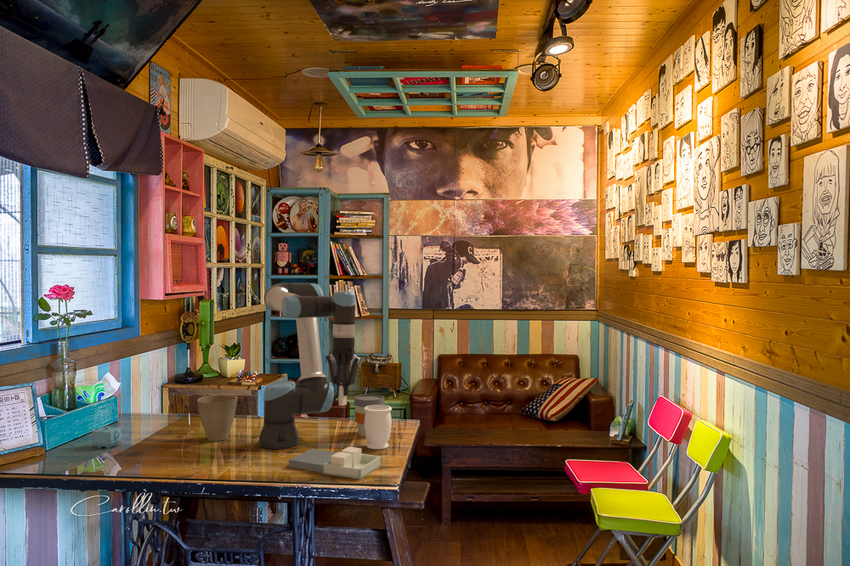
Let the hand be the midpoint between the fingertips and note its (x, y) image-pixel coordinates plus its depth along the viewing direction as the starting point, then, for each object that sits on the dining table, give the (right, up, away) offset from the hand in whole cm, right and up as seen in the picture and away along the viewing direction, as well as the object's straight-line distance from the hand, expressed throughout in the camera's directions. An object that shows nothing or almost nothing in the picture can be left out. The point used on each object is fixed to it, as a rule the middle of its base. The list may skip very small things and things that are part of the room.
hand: (342, 404), depth 195 cm
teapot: (-92, -20, +17) cm, 95 cm away
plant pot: (-54, -20, +29) cm, 64 cm away
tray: (+4, -21, -6) cm, 22 cm away
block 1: (+1, -20, -8) cm, 21 cm away
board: (-9, -20, 0) cm, 22 cm away
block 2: (+3, -20, -2) cm, 20 cm away
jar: (+10, -21, +21) cm, 31 cm away
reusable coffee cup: (+5, -21, +40) cm, 45 cm away
